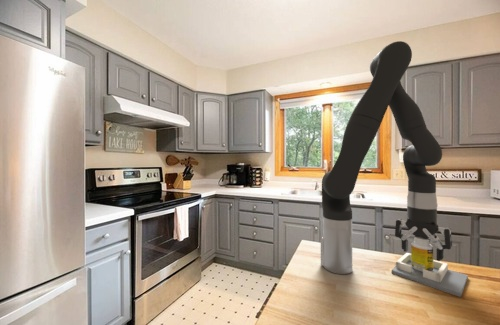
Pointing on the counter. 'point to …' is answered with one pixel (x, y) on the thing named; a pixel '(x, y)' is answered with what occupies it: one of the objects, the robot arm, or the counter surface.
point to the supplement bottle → (422, 254)
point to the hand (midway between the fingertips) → (421, 255)
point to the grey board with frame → (432, 275)
